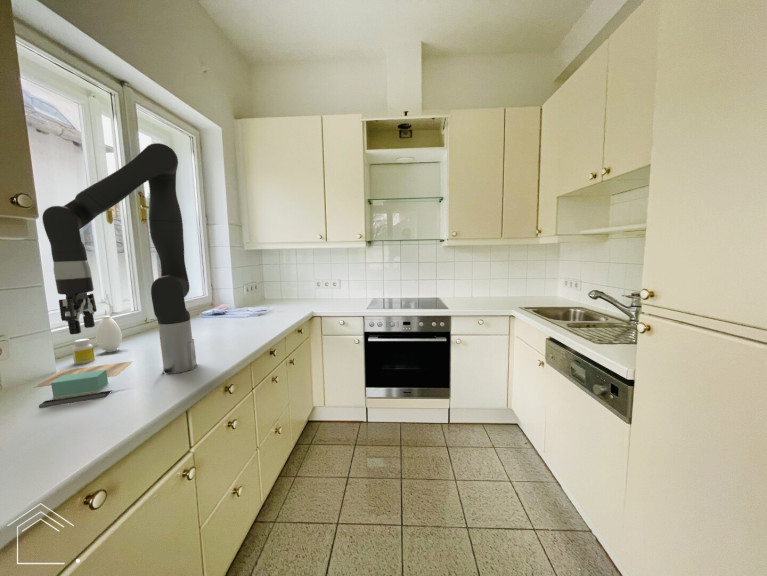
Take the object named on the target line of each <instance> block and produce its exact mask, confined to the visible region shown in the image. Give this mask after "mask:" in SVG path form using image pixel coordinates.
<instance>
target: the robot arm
mask: <svg viewBox="0 0 767 576" xmlns="http://www.w3.org/2000/svg"><path fill="white" fill-rule="evenodd" d="M178 166H179V159H178V156H177V154H176V152H175V150H173V149H172V148H171V146H168V145H166V144H165V143H160V142H157V143H150V144H148V145H147V146H146V147H145V148H144V149H143V150H142V151H141V152H139V153H138V154H137V155H136V156H135V157H133V159H131V160H130V161H129V162H128V163H126V164H125V165H123V166H122V167H121V168H119V169H118V170H116V171H114V172H113V173H111V174H109V175H108V176H106V177H104V178H101V180H99V181H97V182H94V183H93V184H91V185H90V186H88V187H86V188H84V189H83V190H81V191H80V192H79V193H77V194H76V195H75V198H74V199H72V200H71V201H69V202H68V203H66V204H64V205H53V206H50V207H47V208H46V209H45V210H44V211H43V212H42V224H43V229H44V231H45V234H46V236H47V239H48V241H49V244H50V250H51V257H52V262H53V275H54V280H55V287H56V290H57V294H58V295H65V299H64V298H63V299H59V300H58V306H59V312H60V319H61V321H62V322H65V323H67V325H68V330H69V331H68V332H69V334H70V335H79V334H80V333H82V329H81V324H80V323H81V322H80V316H81V315H82V319H83V325H84V328H85V329H89V328H94V327H95V326H96V324H95V318H94V315H95V312H96V313H97V305H96V300H95V295H94V293H93V291H94V290H95V289H94V283H93V278H92V272H91V271H92V270H91V267H90V264H89V260H88V256H87V248H86V246H85V244H84V243H83V241H82V238H81V237H82V236H81V231H80V230H81V229H82V228H84V227H86V226H87V225H88V224H89V223H91V222H92V221H93V220H95V219H96V217H98V216H99V215H101V214H103V213H105V212H106V211H107V210H109V209H111V208H113V207H115V206H116V205H117V204H119V203H120V202H122V201H123V200H124V199H126V198H127V197H128V196H129V195H131V194H132V193H133V192H135V190H136V189H138V188H139V187H140V186H141V185H143V184H145V183H147V182H148V187H149V200H148V225H149V227H148V228H149V234H150V238H151V242H152V243H153V246H154V249H155V251H156V253H157V255H158V258H159V263H160V277H158V278H156V279H155V280H154V281H153V282H152V284H151V286H150V287H151V288H150V295H151V296H150V297H151V302H152V308H153V313H154V316H155V318H156V319H157V325H158V327H157V328H158V334H159V340H160V341H159V343H160V351H161V358H162V360H161V361H162V368H163V372H164V374H170V375H172V374H179V373H183V372H187V371H189V370H190V371H191V370H194V369H195V368H196V365H197V356H196V355H197V354H196V348H195V347H196V346H195V339H194V338H193V335H192V334H193V333H192V323H191V314H190V311H188V310H187V308H186V303H185V298H186V297H187V295H188V293H189V292H190V282H189V277H188V273H187V266H186V262H185V261H186V260H185V243H184V242H185V241H184V240H185V239H184V225H183V216H182V211H181V208H180V203H179V201H178V196H177V188H176V187H177V184H176V183H177V171H178ZM91 292H92V293H91Z"/></svg>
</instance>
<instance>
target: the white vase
mask: <svg viewBox="0 0 767 576" xmlns="http://www.w3.org/2000/svg"><path fill="white" fill-rule="evenodd" d="M104 314H105V315H104V316H101V320H100V321H99V322H98V325H97V328H96V332H95V340H96V343H97V346H98V347H99V348H100V350H101V351H104V352H107V353H113V352H112V351H114V352H115V351H117V349H118V348H120V346H121V344H122V342H123V335H122V331H121V328H120V327H119V326H120V325H118V323H117V322H116V321H115V319H113V318H112V316H111V315H108V314H107V310H106V309H105V310H104Z"/></svg>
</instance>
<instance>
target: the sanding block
mask: <svg viewBox="0 0 767 576" xmlns="http://www.w3.org/2000/svg"><path fill="white" fill-rule="evenodd" d="M108 384H109V381H108V377H107V372H106V370H101V371H93V372H86V373H78V374H71V375H64V376H61V377H60V378H58V379H57V380H55V381H54V382H52V383H51V385H50V386H51V389H52V390H51V391H52V396H53V398H54V399H53V400H58V399H64V398H65V397H66V398H71V397H77V396H83V395H84V394H85V395H90V394H96V393H97V392H98V393H100V392H101V390H102V389H103V388H104V387H106V386H107V385H108ZM86 393H88V394H86ZM81 394H82V395H81Z"/></svg>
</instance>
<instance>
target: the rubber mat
mask: <svg viewBox="0 0 767 576" xmlns="http://www.w3.org/2000/svg"><path fill="white" fill-rule="evenodd" d="M113 391H114V390H104V391H99V392H100V393H99V392H95V393H96V394H92V393H89V394H90V395H86V394H82V395H83V396H79V395H76V396H77V397H73V396H70V397H71V398H67V397H63V398H64V399H60V398H57V399H58V400H54V399H47V400H45V401H43V402H42V403H40V404H39V405H38V409H44V408H49V407H55V406H63V405H67V404H68V403H69V404H73V403H74V402H75V403H80V402H86V401H93V400H99V399H104V398H107V397H108V395H110V394H111V393H112V392H113ZM110 392H111V393H110ZM62 404H63V405H62Z"/></svg>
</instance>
